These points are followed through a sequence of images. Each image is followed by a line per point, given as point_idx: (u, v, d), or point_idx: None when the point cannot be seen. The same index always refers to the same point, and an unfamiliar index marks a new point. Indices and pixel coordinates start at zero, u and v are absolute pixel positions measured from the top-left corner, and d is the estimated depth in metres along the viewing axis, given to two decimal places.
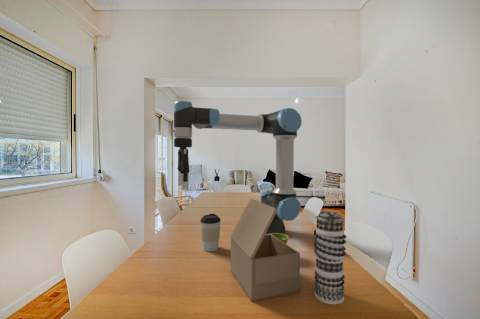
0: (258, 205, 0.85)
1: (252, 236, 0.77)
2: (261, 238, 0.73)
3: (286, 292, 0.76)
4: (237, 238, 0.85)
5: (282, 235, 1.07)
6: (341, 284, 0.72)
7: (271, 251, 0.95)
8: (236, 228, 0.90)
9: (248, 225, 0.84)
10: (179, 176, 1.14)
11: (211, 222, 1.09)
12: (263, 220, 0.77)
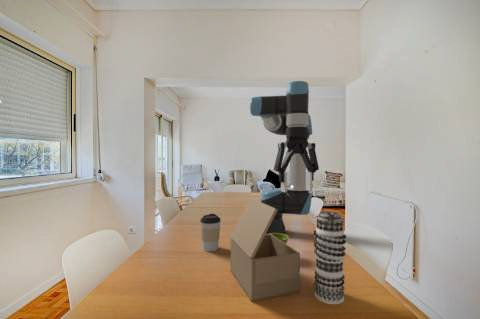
0: (258, 205, 0.85)
1: (252, 236, 0.77)
2: (261, 238, 0.73)
3: (286, 292, 0.76)
4: (237, 238, 0.85)
5: (282, 235, 1.07)
6: (341, 284, 0.72)
7: (271, 251, 0.95)
8: (236, 228, 0.90)
9: (248, 225, 0.84)
10: (306, 178, 0.91)
11: (211, 222, 1.09)
12: (263, 220, 0.77)
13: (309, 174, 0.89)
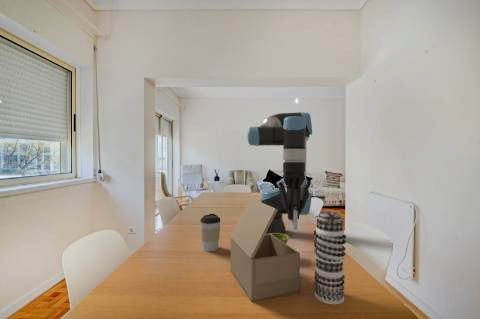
0: (258, 205, 0.85)
1: (252, 236, 0.77)
2: (261, 238, 0.73)
3: (286, 292, 0.76)
4: (237, 238, 0.85)
5: (282, 235, 1.07)
6: (341, 284, 0.72)
7: (271, 251, 0.95)
8: (236, 228, 0.90)
9: (248, 225, 0.84)
10: None
11: (211, 222, 1.09)
12: (263, 220, 0.77)
13: None
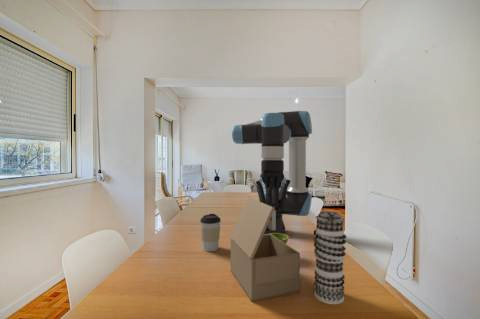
0: (256, 203, 0.85)
1: (251, 236, 0.77)
2: (260, 237, 0.73)
3: (286, 292, 0.76)
4: (237, 238, 0.85)
5: (282, 235, 1.07)
6: (341, 284, 0.72)
7: (271, 251, 0.95)
8: (235, 228, 0.90)
9: (246, 225, 0.84)
10: None
11: (211, 222, 1.09)
12: (261, 219, 0.77)
13: (273, 212, 0.84)
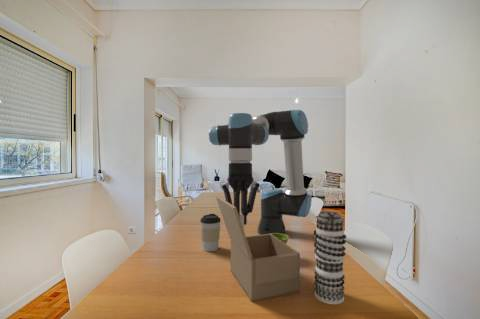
0: (223, 204, 0.81)
1: (239, 238, 0.76)
2: (244, 238, 0.72)
3: (286, 292, 0.76)
4: (234, 240, 0.85)
5: (282, 235, 1.07)
6: (341, 284, 0.72)
7: (271, 251, 0.95)
8: (227, 229, 0.89)
9: (231, 226, 0.82)
10: None
11: (211, 222, 1.09)
12: (234, 221, 0.74)
13: None
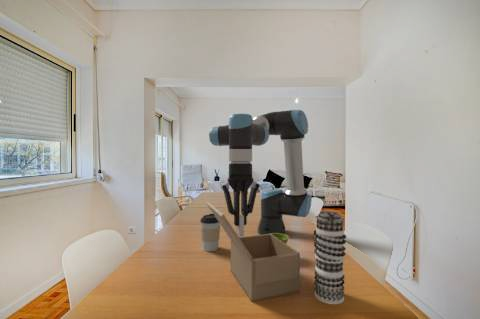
0: (213, 211, 0.80)
1: (235, 240, 0.75)
2: (239, 241, 0.71)
3: (286, 292, 0.76)
4: (233, 241, 0.84)
5: (282, 235, 1.07)
6: (341, 284, 0.72)
7: (271, 251, 0.95)
8: (225, 231, 0.89)
9: (226, 229, 0.81)
10: None
11: (211, 222, 1.09)
12: (226, 226, 0.73)
13: None
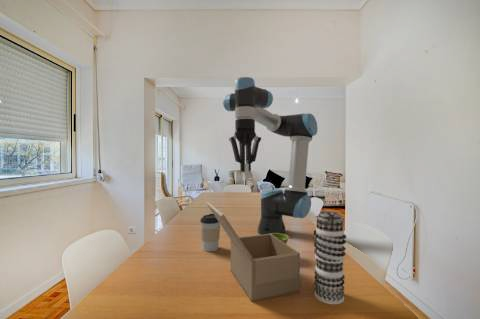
0: (213, 211, 0.80)
1: (235, 240, 0.75)
2: (239, 241, 0.71)
3: (286, 292, 0.76)
4: (233, 241, 0.84)
5: (282, 235, 1.07)
6: (341, 284, 0.72)
7: (271, 251, 0.95)
8: (225, 231, 0.89)
9: (226, 229, 0.81)
10: None
11: (211, 222, 1.09)
12: (226, 226, 0.73)
13: None
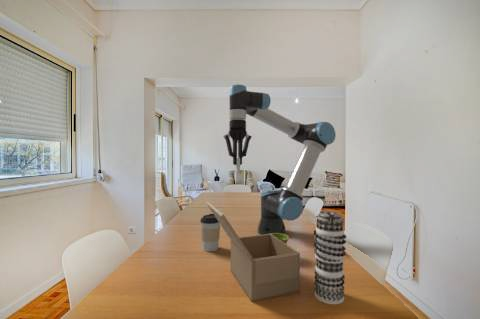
0: (213, 211, 0.80)
1: (235, 240, 0.75)
2: (239, 241, 0.71)
3: (286, 292, 0.76)
4: (233, 241, 0.84)
5: (282, 235, 1.07)
6: (341, 284, 0.72)
7: (271, 251, 0.95)
8: (225, 231, 0.89)
9: (226, 229, 0.81)
10: None
11: (211, 222, 1.09)
12: (226, 226, 0.73)
13: None
